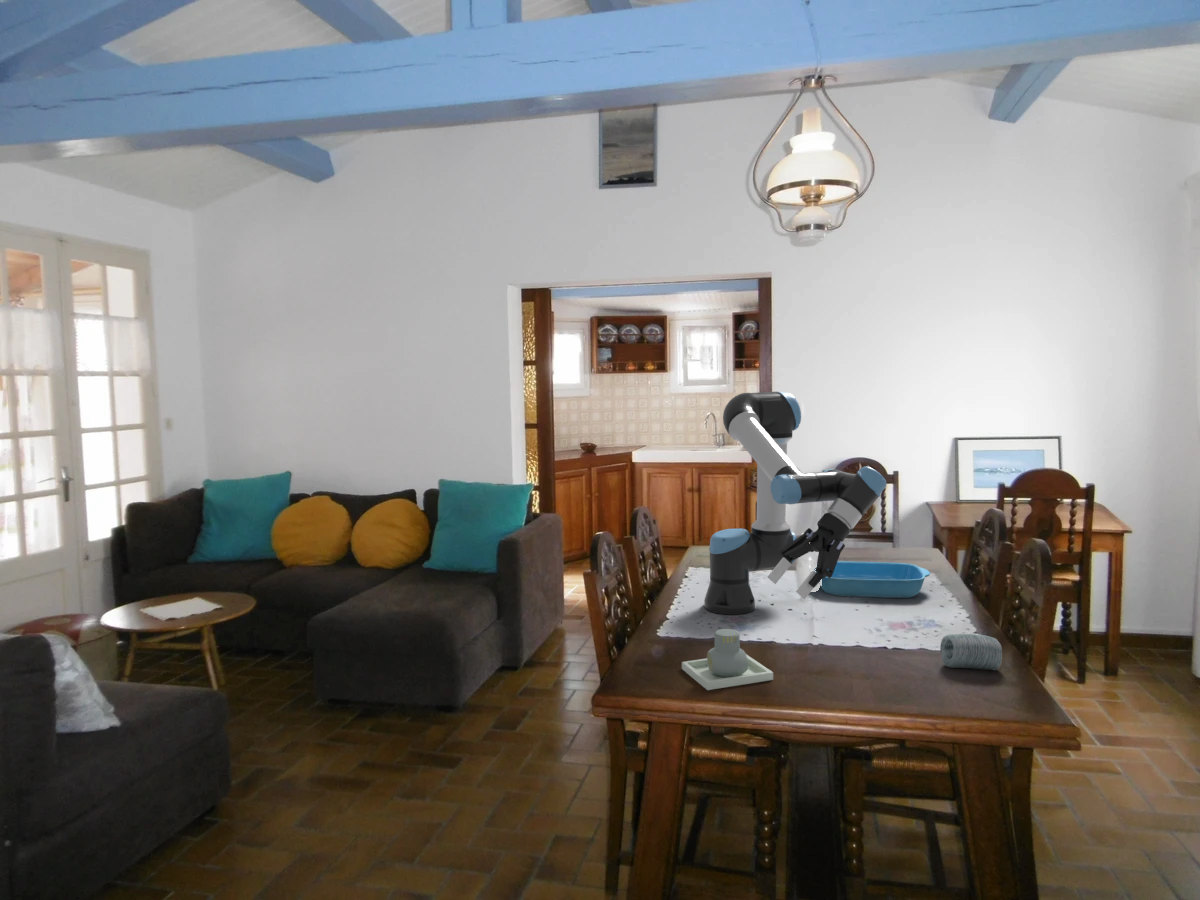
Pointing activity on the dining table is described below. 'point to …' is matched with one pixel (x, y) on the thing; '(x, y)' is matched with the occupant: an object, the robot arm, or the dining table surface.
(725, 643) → the air freshener
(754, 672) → the sage tray
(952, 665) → the spool
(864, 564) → the casserole dish
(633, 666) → the dining table surface
